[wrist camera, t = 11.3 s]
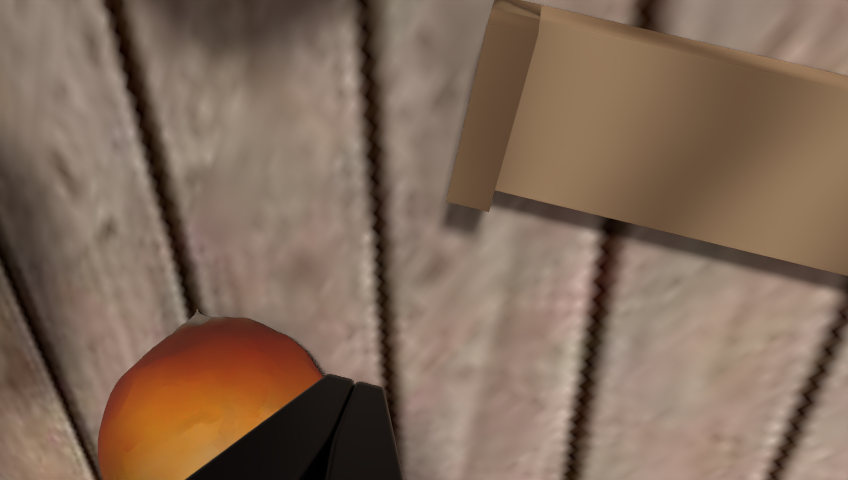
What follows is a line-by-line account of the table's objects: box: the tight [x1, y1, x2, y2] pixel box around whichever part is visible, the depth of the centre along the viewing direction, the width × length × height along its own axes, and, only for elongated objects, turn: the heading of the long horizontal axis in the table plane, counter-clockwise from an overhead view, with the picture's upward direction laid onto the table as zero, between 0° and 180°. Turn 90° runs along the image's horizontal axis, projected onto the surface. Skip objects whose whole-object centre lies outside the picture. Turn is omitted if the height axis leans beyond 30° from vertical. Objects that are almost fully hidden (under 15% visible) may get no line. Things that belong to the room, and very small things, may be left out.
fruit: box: [98, 309, 323, 480], centre depth 26 cm, size 8×8×8 cm
